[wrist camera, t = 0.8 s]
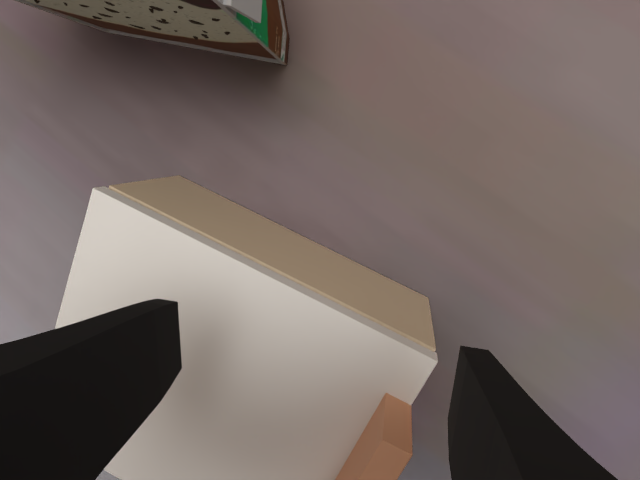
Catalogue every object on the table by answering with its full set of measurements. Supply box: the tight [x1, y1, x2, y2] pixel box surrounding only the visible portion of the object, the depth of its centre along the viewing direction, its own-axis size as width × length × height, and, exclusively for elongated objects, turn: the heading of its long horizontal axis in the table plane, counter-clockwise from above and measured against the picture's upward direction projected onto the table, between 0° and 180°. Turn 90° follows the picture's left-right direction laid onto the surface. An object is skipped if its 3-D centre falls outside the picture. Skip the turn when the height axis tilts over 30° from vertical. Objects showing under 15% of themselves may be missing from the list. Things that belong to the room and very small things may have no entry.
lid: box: [55, 186, 438, 480], centre depth 16 cm, size 12×14×3 cm
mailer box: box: [109, 176, 436, 352], centre depth 20 cm, size 12×14×5 cm
